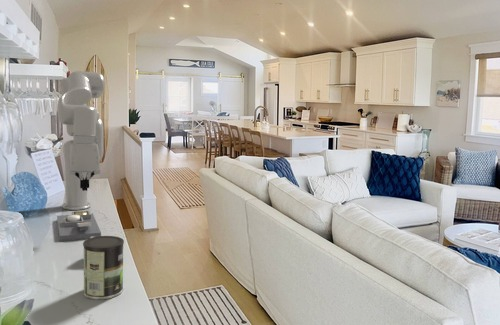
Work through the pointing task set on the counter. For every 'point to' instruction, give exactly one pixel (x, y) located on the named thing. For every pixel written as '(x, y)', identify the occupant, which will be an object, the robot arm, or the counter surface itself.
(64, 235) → the control panel
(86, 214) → the brass button
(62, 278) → the counter surface
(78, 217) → the white button
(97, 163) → the robot arm
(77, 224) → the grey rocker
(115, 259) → the coffee can
